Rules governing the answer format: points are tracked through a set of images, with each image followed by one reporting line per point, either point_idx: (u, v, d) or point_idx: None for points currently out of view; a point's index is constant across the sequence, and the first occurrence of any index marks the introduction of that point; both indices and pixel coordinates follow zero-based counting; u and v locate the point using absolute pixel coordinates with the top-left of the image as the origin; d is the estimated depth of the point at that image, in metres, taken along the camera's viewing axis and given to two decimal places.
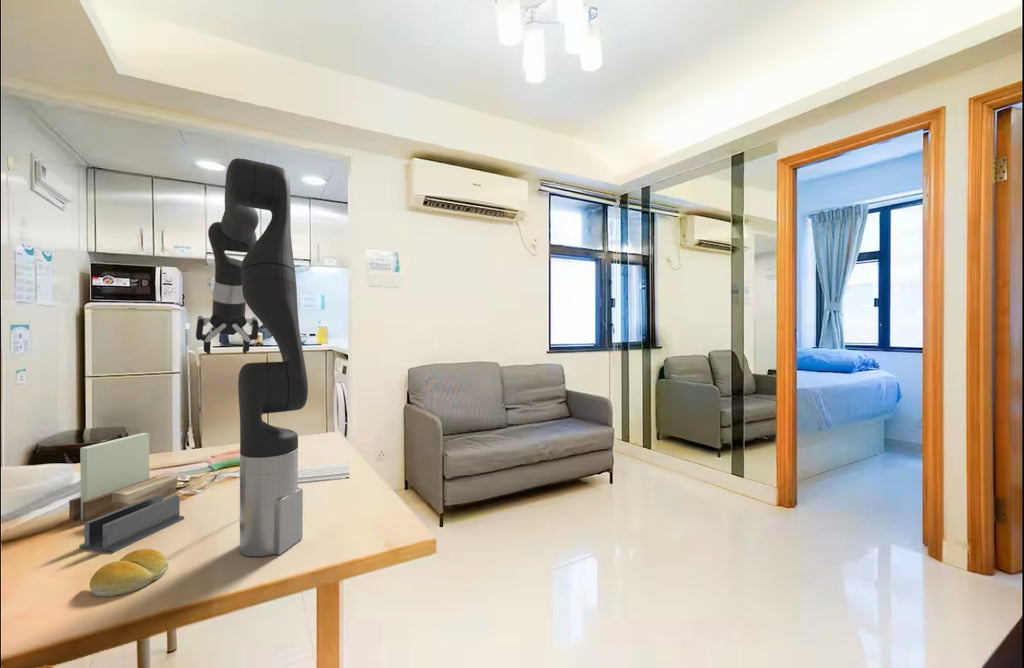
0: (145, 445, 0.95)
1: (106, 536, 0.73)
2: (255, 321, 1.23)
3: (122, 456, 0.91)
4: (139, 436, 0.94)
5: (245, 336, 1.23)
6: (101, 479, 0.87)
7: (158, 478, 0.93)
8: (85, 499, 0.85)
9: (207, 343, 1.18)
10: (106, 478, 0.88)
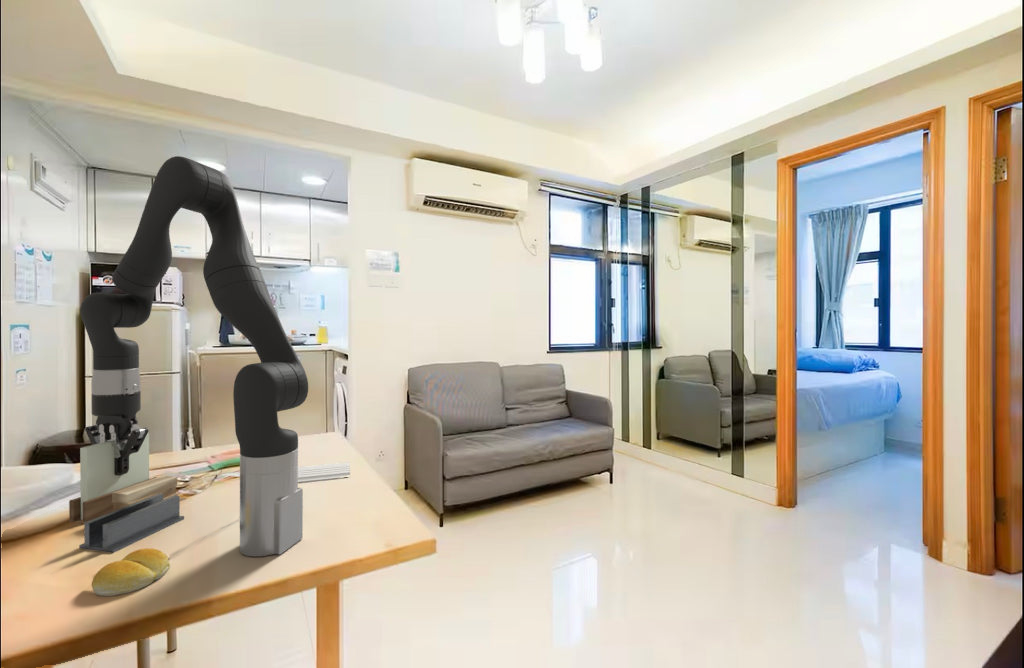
0: (145, 445, 0.95)
1: (106, 536, 0.73)
2: (134, 432, 0.88)
3: None
4: None
5: (114, 449, 0.89)
6: (101, 479, 0.87)
7: (158, 478, 0.93)
8: (85, 499, 0.85)
9: None
10: (106, 478, 0.88)
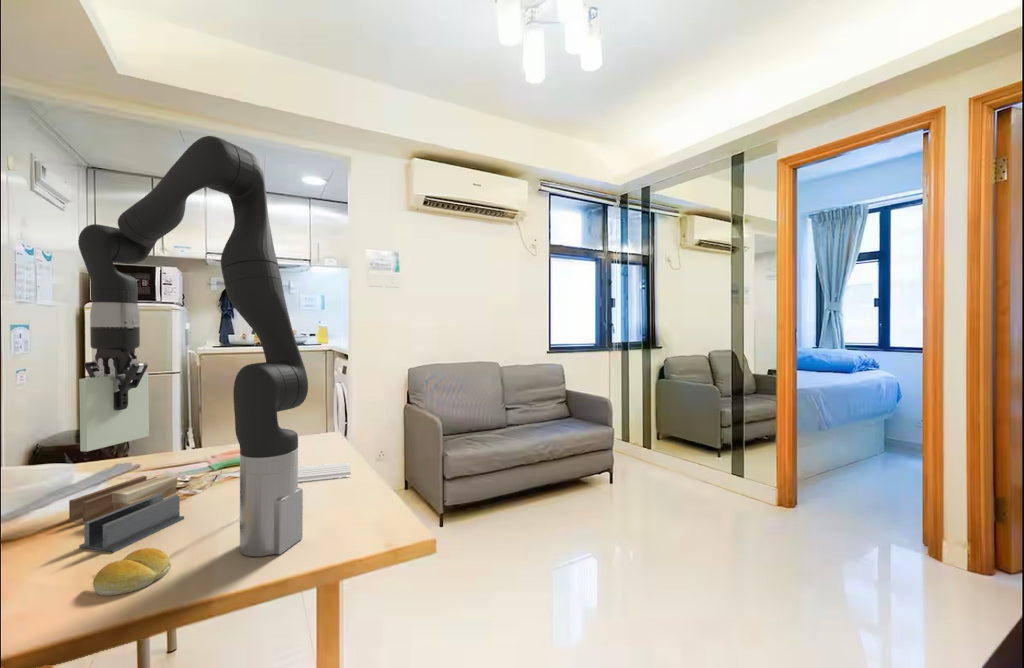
0: (144, 384, 0.95)
1: (106, 536, 0.73)
2: (133, 365, 0.88)
3: None
4: None
5: (113, 383, 0.89)
6: (100, 412, 0.87)
7: (158, 478, 0.93)
8: (84, 430, 0.84)
9: None
10: (105, 412, 0.87)
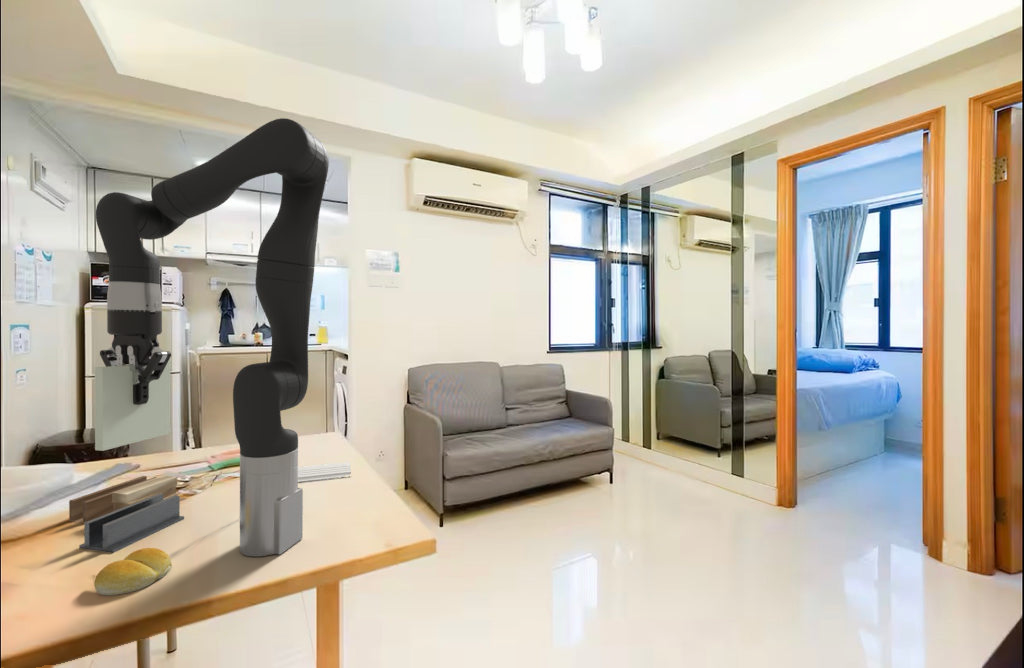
0: (166, 375, 0.84)
1: (106, 536, 0.73)
2: (155, 354, 0.77)
3: None
4: None
5: None
6: (118, 406, 0.76)
7: (158, 478, 0.93)
8: (100, 426, 0.74)
9: None
10: (123, 405, 0.77)
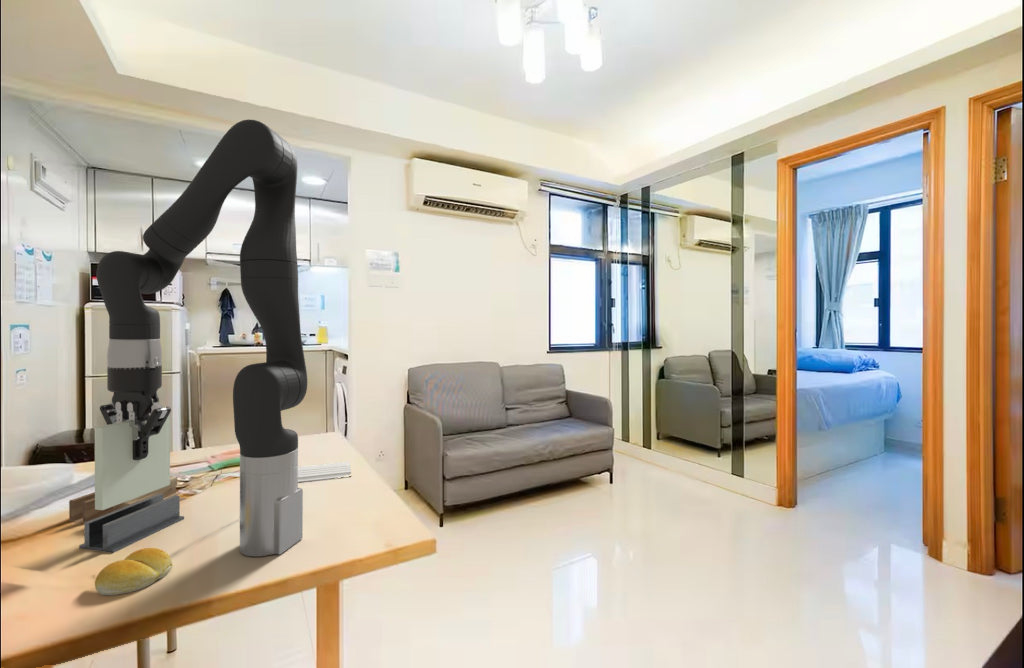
0: (166, 427, 0.85)
1: (106, 536, 0.73)
2: (155, 411, 0.77)
3: None
4: None
5: (132, 430, 0.78)
6: (118, 464, 0.76)
7: None
8: (100, 486, 0.74)
9: None
10: (123, 463, 0.77)
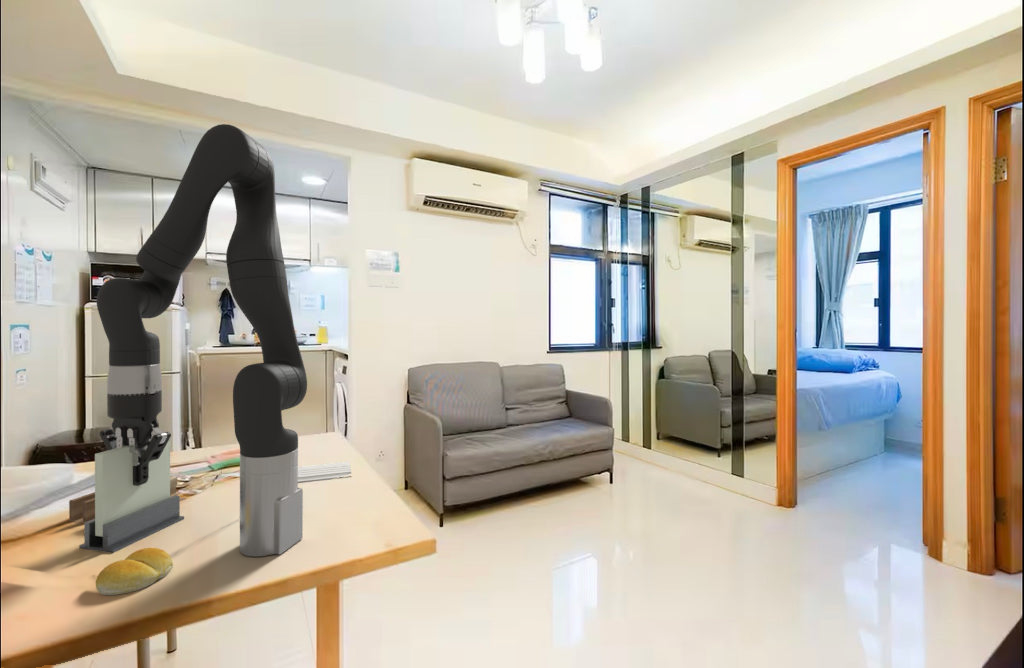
0: (166, 450, 0.85)
1: (106, 536, 0.73)
2: (155, 437, 0.77)
3: None
4: None
5: None
6: (118, 489, 0.76)
7: None
8: (100, 512, 0.74)
9: None
10: (123, 488, 0.77)
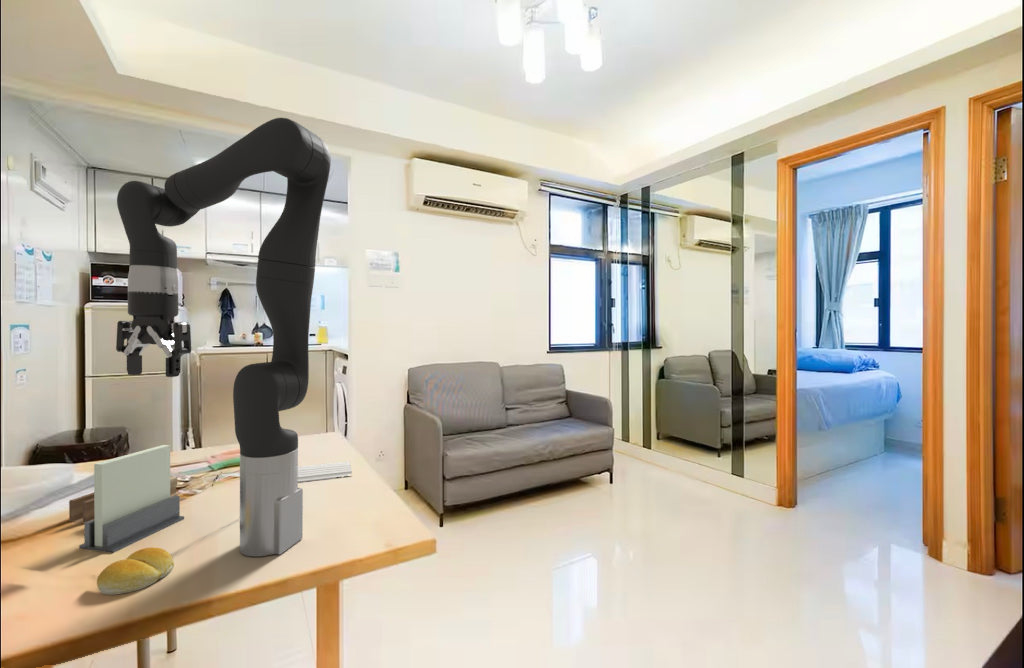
0: (166, 459, 0.85)
1: (106, 536, 0.73)
2: (175, 324, 0.81)
3: (140, 472, 0.80)
4: (159, 449, 0.84)
5: (165, 348, 0.82)
6: (117, 499, 0.76)
7: None
8: (99, 522, 0.74)
9: None
10: (123, 497, 0.77)
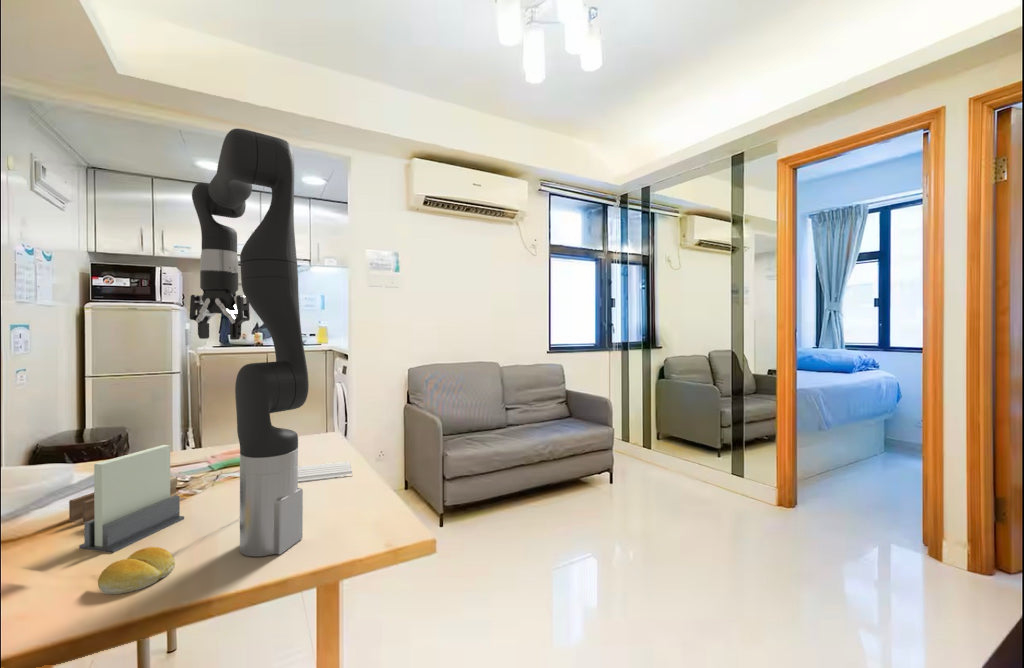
0: (166, 459, 0.85)
1: (106, 536, 0.73)
2: (238, 296, 1.01)
3: (140, 472, 0.80)
4: (159, 449, 0.84)
5: (230, 316, 1.02)
6: (117, 499, 0.76)
7: None
8: (99, 522, 0.74)
9: (199, 324, 1.04)
10: (123, 497, 0.77)
